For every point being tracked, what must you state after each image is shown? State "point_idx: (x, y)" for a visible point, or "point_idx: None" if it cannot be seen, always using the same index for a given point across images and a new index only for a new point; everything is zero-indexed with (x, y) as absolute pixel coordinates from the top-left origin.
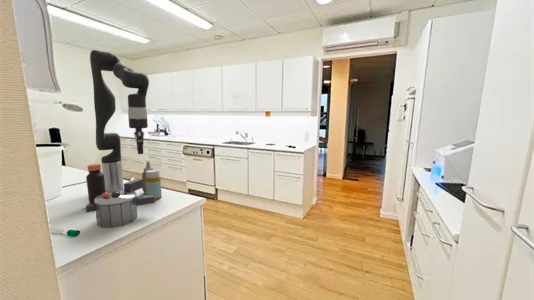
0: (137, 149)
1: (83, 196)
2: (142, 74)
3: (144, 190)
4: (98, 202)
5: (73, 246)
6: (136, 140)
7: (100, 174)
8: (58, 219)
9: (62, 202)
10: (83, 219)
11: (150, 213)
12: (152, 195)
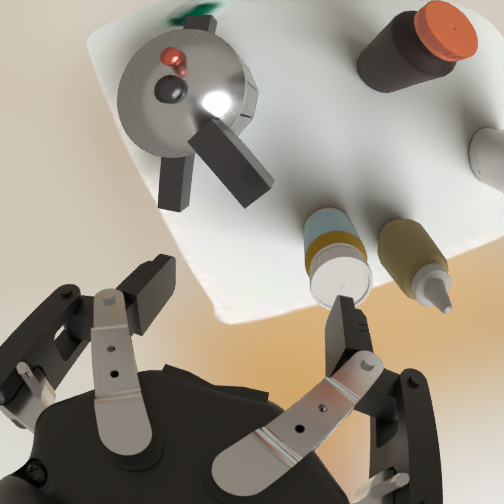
0: (339, 301)
1: (486, 74)
2: None
3: (394, 221)
4: (142, 47)
5: (126, 31)
6: (94, 332)
7: (410, 53)
8: None
9: None
10: (273, 23)
11: (197, 181)
12: (171, 206)
